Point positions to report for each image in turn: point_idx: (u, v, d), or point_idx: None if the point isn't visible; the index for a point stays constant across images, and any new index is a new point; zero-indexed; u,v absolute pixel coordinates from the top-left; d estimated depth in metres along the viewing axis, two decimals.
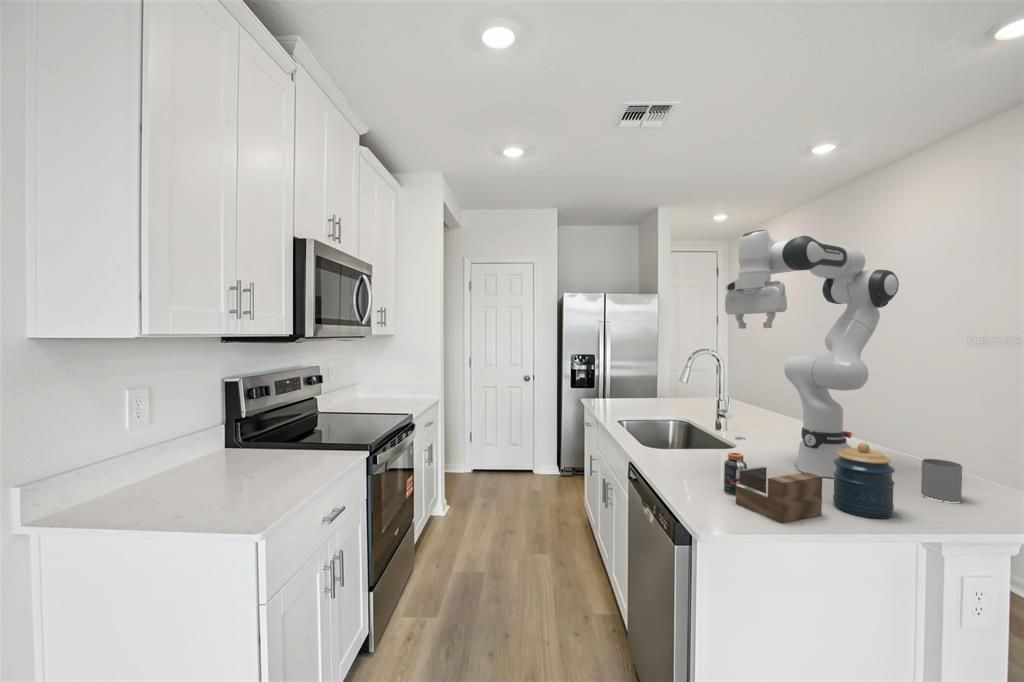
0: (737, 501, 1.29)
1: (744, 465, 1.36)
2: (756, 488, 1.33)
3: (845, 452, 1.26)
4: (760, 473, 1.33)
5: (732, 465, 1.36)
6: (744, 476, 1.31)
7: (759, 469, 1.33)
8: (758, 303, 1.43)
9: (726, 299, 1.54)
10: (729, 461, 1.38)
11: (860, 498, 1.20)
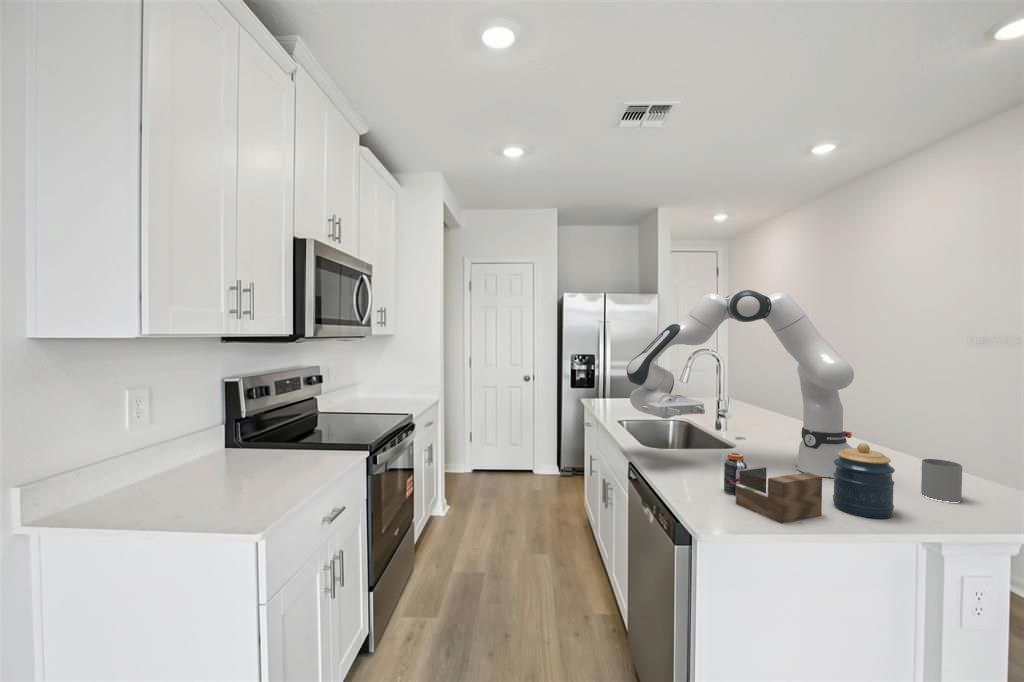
0: (737, 501, 1.29)
1: (744, 465, 1.36)
2: (756, 488, 1.33)
3: (845, 452, 1.26)
4: (760, 473, 1.33)
5: (732, 465, 1.36)
6: (744, 476, 1.31)
7: (759, 469, 1.33)
8: None
9: None
10: (729, 461, 1.38)
11: (860, 498, 1.20)
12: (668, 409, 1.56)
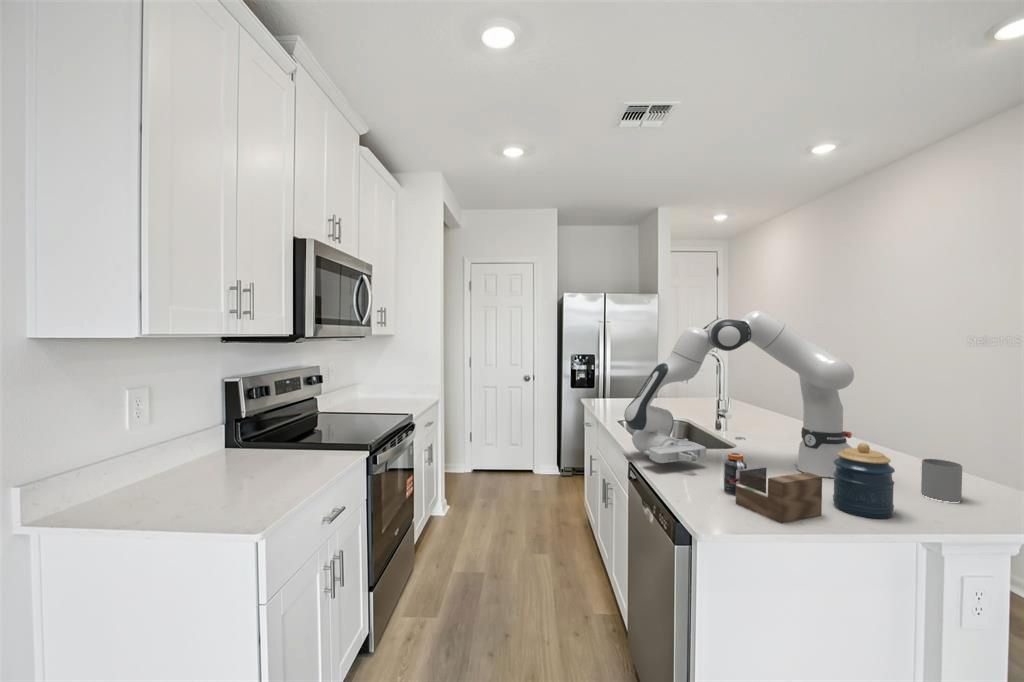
0: (737, 501, 1.29)
1: (744, 465, 1.36)
2: (756, 488, 1.33)
3: (845, 452, 1.26)
4: (760, 473, 1.33)
5: (732, 465, 1.36)
6: (744, 476, 1.31)
7: (759, 469, 1.33)
8: None
9: None
10: (729, 461, 1.38)
11: (860, 498, 1.20)
12: (680, 455, 1.57)
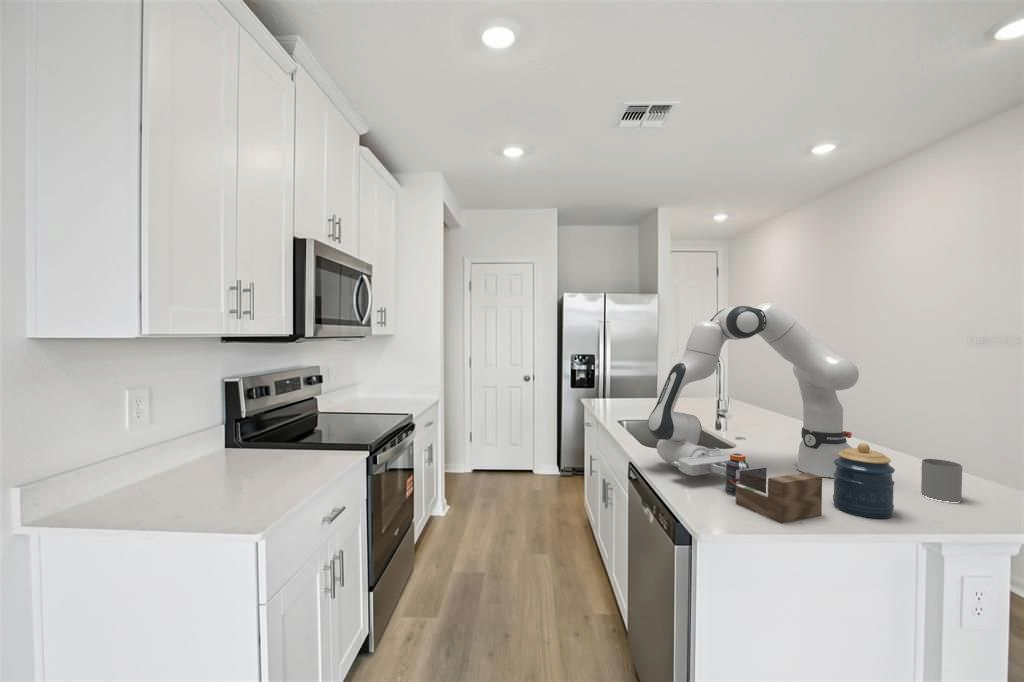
0: (737, 501, 1.29)
1: (746, 466, 1.35)
2: (756, 488, 1.33)
3: (845, 452, 1.26)
4: (760, 473, 1.33)
5: (734, 465, 1.35)
6: (744, 476, 1.31)
7: (759, 469, 1.33)
8: None
9: None
10: (731, 462, 1.37)
11: (860, 498, 1.20)
12: (713, 466, 1.43)
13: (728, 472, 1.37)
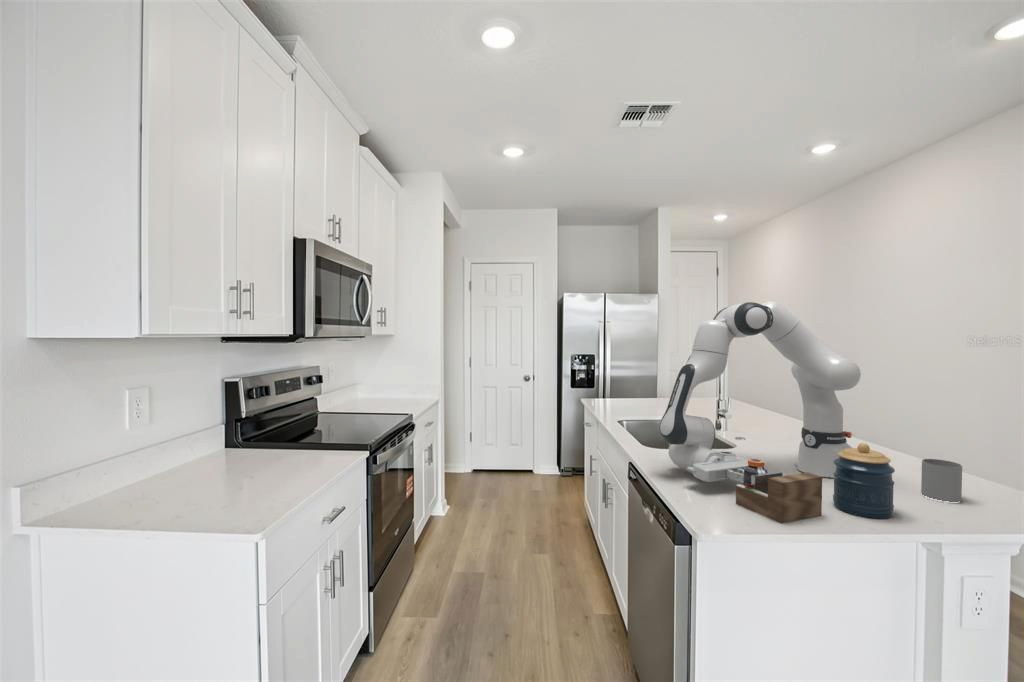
0: (737, 501, 1.29)
1: (765, 472, 1.29)
2: None
3: (845, 452, 1.26)
4: None
5: (752, 471, 1.29)
6: (760, 482, 1.27)
7: (775, 474, 1.28)
8: None
9: None
10: (749, 468, 1.31)
11: (860, 498, 1.20)
12: (730, 472, 1.37)
13: (746, 479, 1.31)
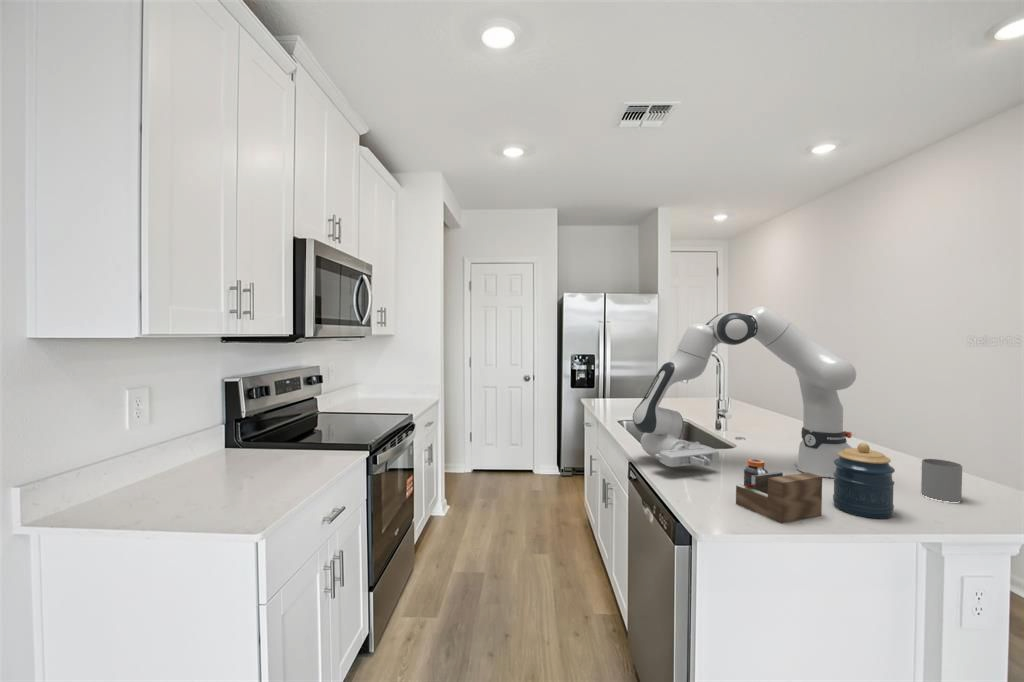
0: (737, 501, 1.29)
1: (765, 472, 1.29)
2: None
3: (845, 452, 1.26)
4: None
5: (752, 472, 1.29)
6: (760, 482, 1.26)
7: (775, 474, 1.28)
8: None
9: None
10: (749, 468, 1.31)
11: (860, 498, 1.20)
12: (692, 458, 1.51)
13: (746, 479, 1.31)
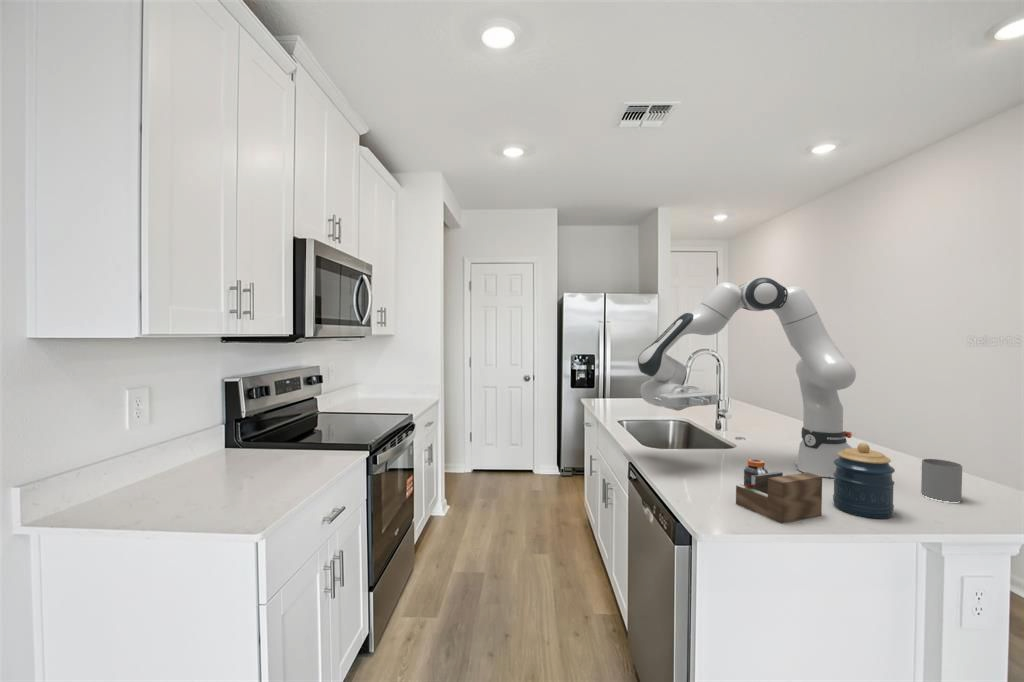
0: (737, 501, 1.29)
1: (765, 472, 1.29)
2: None
3: (845, 452, 1.26)
4: None
5: (752, 472, 1.29)
6: (760, 482, 1.26)
7: (775, 474, 1.28)
8: None
9: None
10: (749, 468, 1.31)
11: (860, 498, 1.20)
12: (691, 399, 1.52)
13: (746, 479, 1.31)
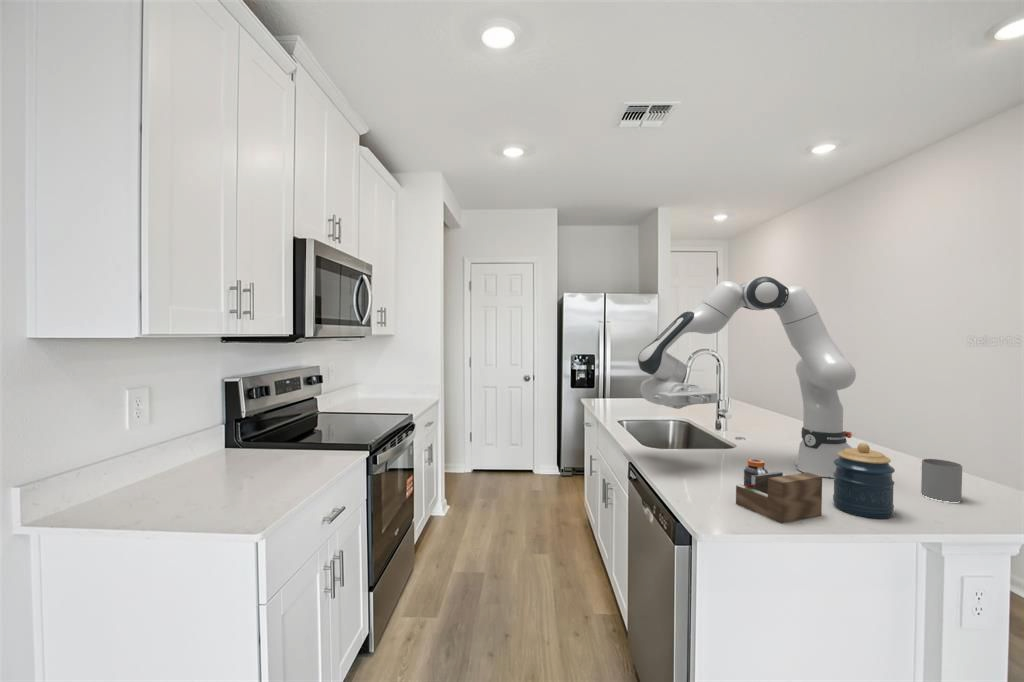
0: (737, 501, 1.29)
1: (765, 472, 1.29)
2: None
3: (845, 452, 1.26)
4: None
5: (752, 472, 1.29)
6: (760, 482, 1.26)
7: (775, 474, 1.28)
8: None
9: None
10: (749, 468, 1.31)
11: (860, 498, 1.20)
12: (691, 397, 1.52)
13: (746, 479, 1.31)
